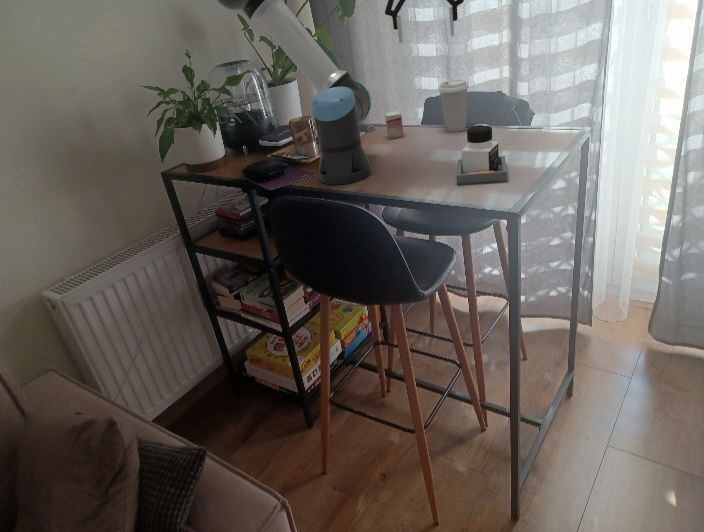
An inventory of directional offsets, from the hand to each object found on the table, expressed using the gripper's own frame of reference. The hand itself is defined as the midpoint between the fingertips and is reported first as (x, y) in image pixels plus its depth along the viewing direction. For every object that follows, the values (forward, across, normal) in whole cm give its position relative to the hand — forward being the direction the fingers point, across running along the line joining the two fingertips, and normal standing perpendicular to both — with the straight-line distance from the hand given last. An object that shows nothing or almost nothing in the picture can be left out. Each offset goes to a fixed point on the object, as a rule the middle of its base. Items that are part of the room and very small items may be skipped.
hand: (426, 39), depth 139 cm
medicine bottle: (+31, -13, +20) cm, 39 cm away
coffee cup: (+32, -5, -24) cm, 40 cm away
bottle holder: (+32, -13, +20) cm, 40 cm away
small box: (+32, +15, -22) cm, 42 cm away
